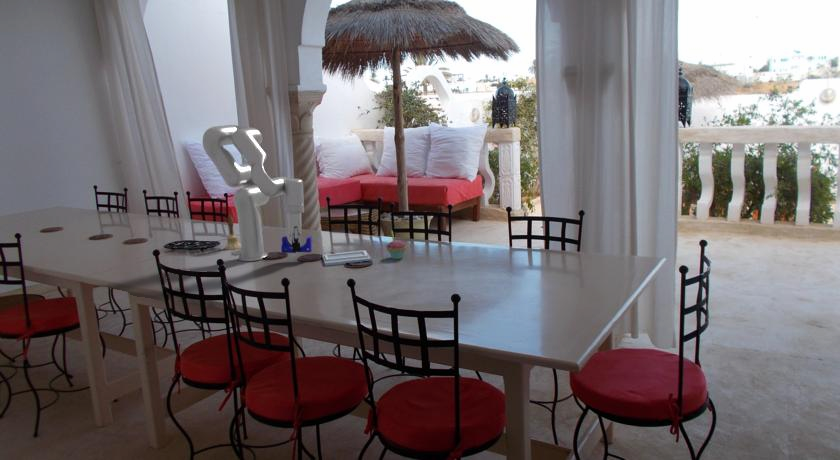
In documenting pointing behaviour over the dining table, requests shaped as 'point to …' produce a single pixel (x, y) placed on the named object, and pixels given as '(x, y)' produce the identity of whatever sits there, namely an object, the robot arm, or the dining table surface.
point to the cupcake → (396, 248)
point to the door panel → (345, 257)
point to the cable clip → (287, 246)
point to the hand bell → (232, 237)
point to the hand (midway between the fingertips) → (296, 249)
